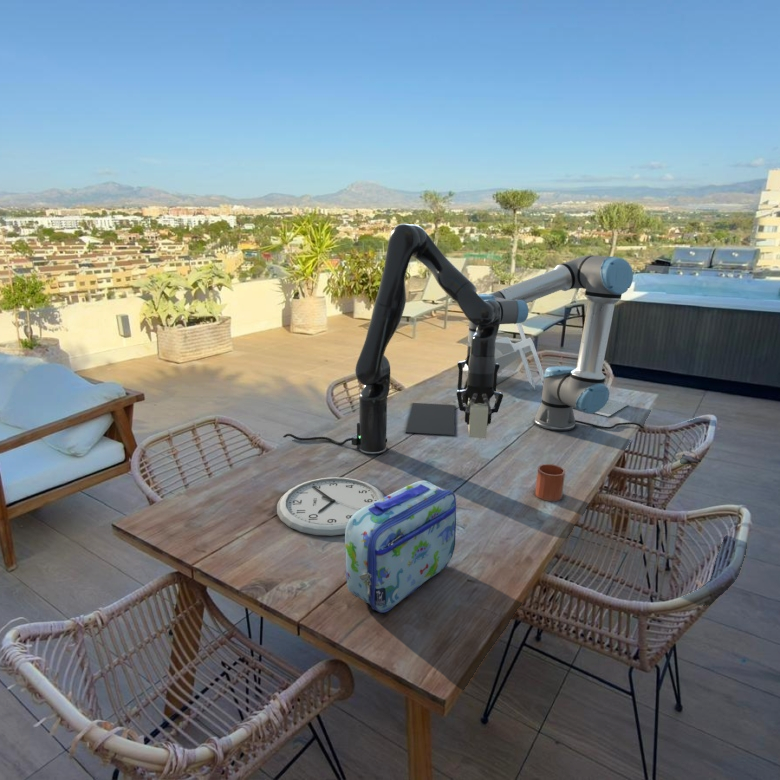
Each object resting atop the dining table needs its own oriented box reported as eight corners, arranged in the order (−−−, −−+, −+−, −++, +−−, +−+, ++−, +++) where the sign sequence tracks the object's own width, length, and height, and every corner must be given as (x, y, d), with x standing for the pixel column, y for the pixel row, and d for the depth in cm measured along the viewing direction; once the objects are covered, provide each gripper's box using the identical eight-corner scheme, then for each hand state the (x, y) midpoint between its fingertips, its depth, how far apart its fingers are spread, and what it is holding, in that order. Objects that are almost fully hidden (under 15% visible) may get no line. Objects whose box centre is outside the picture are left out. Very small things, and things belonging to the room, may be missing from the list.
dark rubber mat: (454, 406, 224) (454, 405, 224) (454, 436, 192) (454, 435, 192) (412, 403, 226) (412, 402, 226) (405, 433, 194) (405, 432, 194)
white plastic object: (482, 418, 267) (461, 395, 242) (463, 346, 289) (443, 318, 265) (552, 394, 255) (538, 367, 230) (527, 321, 277) (512, 289, 252)
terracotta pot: (559, 489, 154) (562, 464, 151) (564, 502, 147) (567, 476, 144) (533, 487, 154) (536, 463, 152) (537, 500, 147) (540, 474, 145)
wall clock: (392, 527, 129) (269, 531, 127) (392, 533, 130) (269, 537, 127) (383, 473, 158) (282, 475, 155) (383, 478, 158) (283, 480, 156)
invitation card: (608, 416, 214) (573, 407, 224) (608, 416, 214) (573, 407, 224) (627, 404, 229) (594, 396, 238) (627, 405, 229) (594, 397, 239)
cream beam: (481, 409, 178) (483, 383, 175) (486, 438, 153) (488, 409, 150) (467, 408, 178) (468, 382, 176) (468, 437, 154) (470, 408, 151)
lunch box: (374, 626, 100) (375, 530, 93) (338, 598, 107) (337, 508, 101) (459, 568, 117) (465, 484, 111) (424, 547, 124) (427, 467, 118)
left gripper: (505, 367, 154) (500, 421, 160) (456, 365, 156) (453, 418, 161) (507, 374, 147) (502, 430, 152) (456, 371, 149) (453, 427, 154)
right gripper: (507, 342, 169) (501, 410, 176) (451, 340, 171) (447, 407, 178) (509, 347, 162) (503, 418, 169) (451, 345, 164) (447, 414, 171)
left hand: (477, 424), depth 157 cm, fingers closed on cream beam, 5 cm apart
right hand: (475, 412), depth 173 cm, fingers closed on cream beam, 5 cm apart
